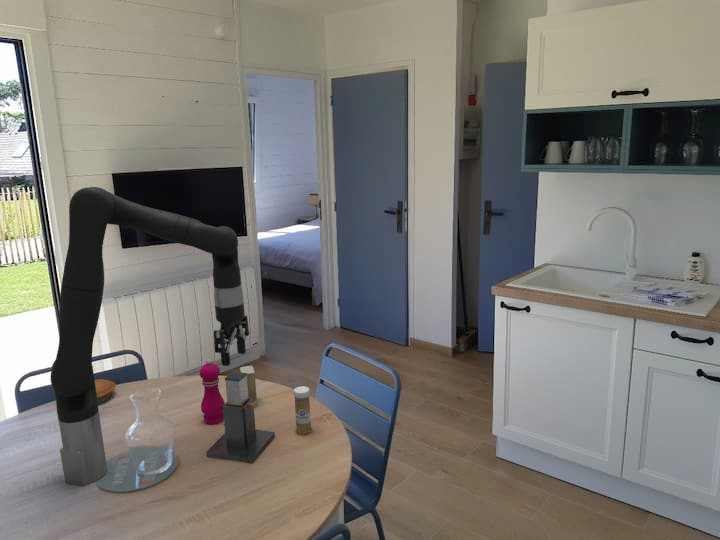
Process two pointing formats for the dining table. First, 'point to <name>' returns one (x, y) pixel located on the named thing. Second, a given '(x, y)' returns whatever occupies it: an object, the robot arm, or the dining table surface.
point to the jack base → (240, 435)
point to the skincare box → (250, 382)
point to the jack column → (237, 389)
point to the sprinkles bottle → (302, 410)
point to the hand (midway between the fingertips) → (234, 359)
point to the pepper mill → (211, 394)
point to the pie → (104, 389)
